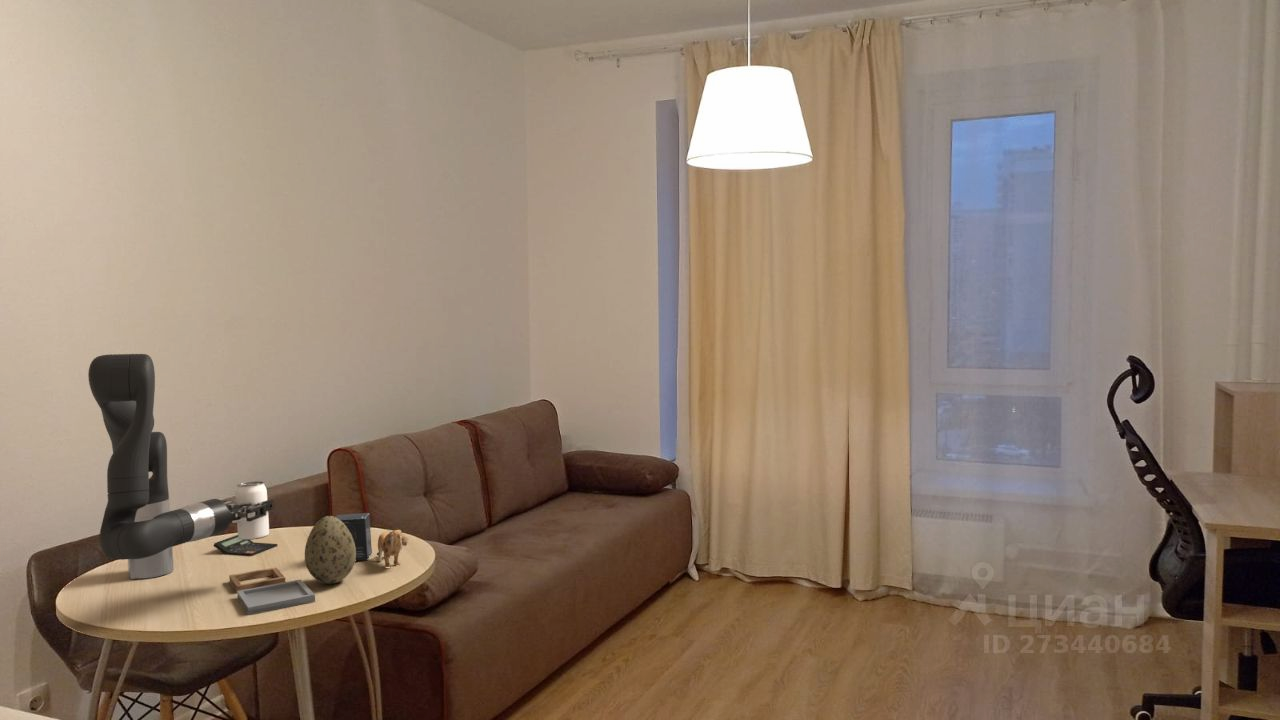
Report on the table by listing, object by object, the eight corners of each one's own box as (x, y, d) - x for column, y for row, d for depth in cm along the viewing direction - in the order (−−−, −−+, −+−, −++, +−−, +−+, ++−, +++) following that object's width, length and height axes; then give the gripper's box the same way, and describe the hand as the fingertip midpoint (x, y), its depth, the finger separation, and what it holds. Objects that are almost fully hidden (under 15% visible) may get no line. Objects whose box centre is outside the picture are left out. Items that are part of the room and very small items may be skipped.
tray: (248, 614, 185) (248, 607, 185) (237, 597, 196) (237, 591, 196) (315, 601, 192) (314, 594, 192) (300, 586, 203) (300, 579, 203)
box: (372, 554, 226) (369, 512, 226) (367, 561, 221) (365, 517, 220) (339, 556, 226) (337, 514, 225) (334, 563, 220) (331, 519, 219)
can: (258, 540, 201) (254, 486, 201) (231, 540, 202) (228, 486, 202) (275, 533, 207) (272, 480, 207) (249, 533, 209) (246, 481, 208)
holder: (237, 593, 199) (236, 586, 199) (229, 581, 207) (229, 575, 207) (285, 584, 204) (285, 577, 204) (276, 573, 213) (275, 567, 213)
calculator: (251, 557, 228) (251, 545, 228) (213, 554, 232) (213, 543, 231) (277, 547, 237) (276, 535, 237) (240, 544, 241) (239, 533, 240)
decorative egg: (333, 573, 212) (329, 509, 211) (367, 578, 207) (364, 513, 206) (295, 586, 202) (291, 519, 201) (330, 593, 197) (327, 524, 196)
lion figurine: (412, 567, 215) (411, 529, 214) (391, 572, 211) (389, 533, 211) (386, 554, 226) (385, 518, 225) (366, 559, 223) (364, 522, 222)
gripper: (225, 505, 188) (285, 488, 204) (173, 500, 194) (236, 485, 209) (227, 541, 189) (287, 522, 204) (175, 535, 194) (238, 517, 210)
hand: (261, 503), depth 207 cm, fingers closed on can, 5 cm apart
